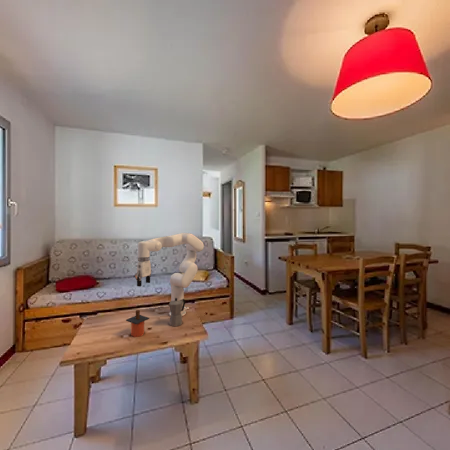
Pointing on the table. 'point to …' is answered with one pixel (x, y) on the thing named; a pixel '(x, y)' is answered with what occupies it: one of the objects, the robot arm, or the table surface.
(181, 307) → the coffeepot
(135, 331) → the cup
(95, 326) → the table surface
